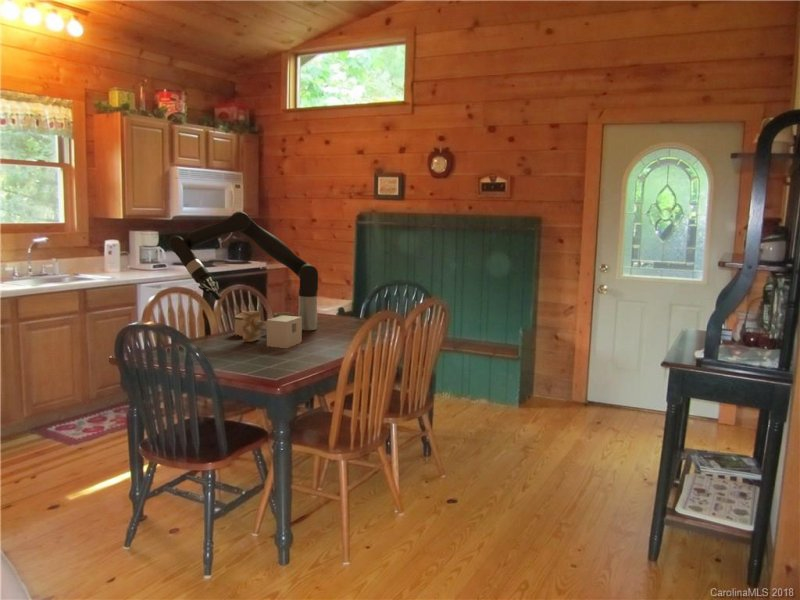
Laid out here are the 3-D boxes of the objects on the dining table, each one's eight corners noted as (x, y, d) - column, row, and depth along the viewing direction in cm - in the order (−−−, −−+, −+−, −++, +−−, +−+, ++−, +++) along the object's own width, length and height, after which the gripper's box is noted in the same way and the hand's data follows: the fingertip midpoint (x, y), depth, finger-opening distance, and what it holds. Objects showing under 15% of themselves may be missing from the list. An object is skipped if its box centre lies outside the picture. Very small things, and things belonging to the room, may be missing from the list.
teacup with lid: (251, 336, 314) (251, 312, 312) (232, 336, 313) (232, 312, 312) (256, 331, 326) (255, 308, 324) (237, 331, 325) (237, 308, 324)
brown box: (243, 341, 301) (242, 313, 299) (252, 337, 308) (252, 310, 306) (272, 344, 296) (272, 315, 294) (281, 340, 303) (281, 313, 301)
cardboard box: (266, 346, 293) (266, 319, 292) (282, 340, 306) (282, 315, 305) (286, 348, 290) (286, 321, 288) (301, 342, 303) (301, 317, 301)
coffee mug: (296, 332, 327) (296, 312, 325) (291, 336, 317) (291, 315, 316) (270, 331, 328) (270, 311, 327) (264, 335, 318) (264, 314, 317)
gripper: (193, 266, 303) (215, 295, 300) (211, 265, 315) (232, 292, 313) (184, 277, 305) (205, 305, 303) (201, 275, 317) (222, 302, 315)
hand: (219, 299), depth 308 cm, fingers closed
